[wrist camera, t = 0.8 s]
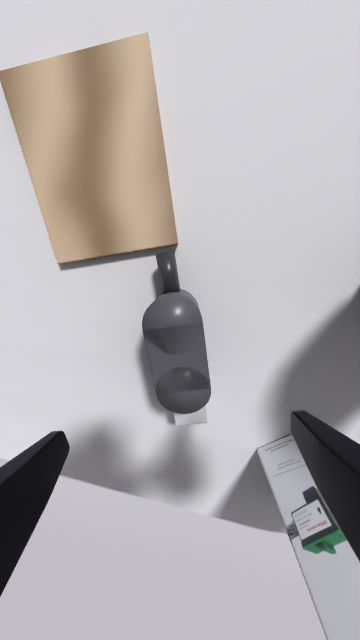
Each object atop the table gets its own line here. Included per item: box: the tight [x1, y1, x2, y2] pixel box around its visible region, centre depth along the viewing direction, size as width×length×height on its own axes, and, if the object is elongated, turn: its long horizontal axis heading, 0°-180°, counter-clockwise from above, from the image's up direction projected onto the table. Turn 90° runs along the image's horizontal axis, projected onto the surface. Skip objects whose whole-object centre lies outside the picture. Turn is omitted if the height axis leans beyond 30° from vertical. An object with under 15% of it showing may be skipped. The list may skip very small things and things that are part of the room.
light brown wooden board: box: [0, 32, 178, 263], centre depth 13 cm, size 10×12×1 cm
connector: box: [142, 252, 211, 426], centre depth 15 cm, size 4×15×4 cm, turn 8°
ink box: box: [257, 435, 360, 640], centre depth 15 cm, size 9×5×12 cm, turn 32°
